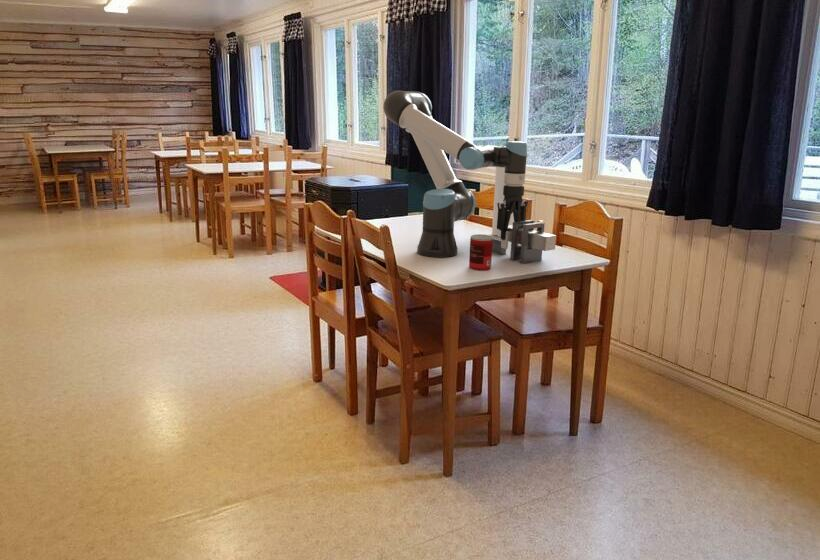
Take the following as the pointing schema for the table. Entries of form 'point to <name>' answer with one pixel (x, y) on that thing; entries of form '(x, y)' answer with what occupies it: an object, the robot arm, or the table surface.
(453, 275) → the table surface
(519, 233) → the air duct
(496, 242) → the stand
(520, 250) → the collar stand
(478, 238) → the canned food
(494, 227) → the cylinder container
